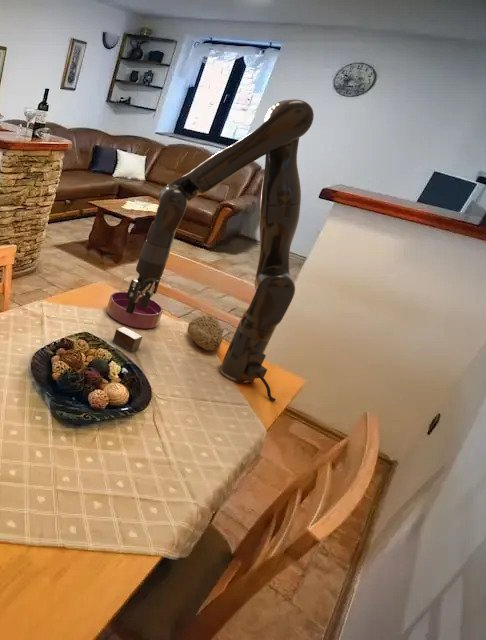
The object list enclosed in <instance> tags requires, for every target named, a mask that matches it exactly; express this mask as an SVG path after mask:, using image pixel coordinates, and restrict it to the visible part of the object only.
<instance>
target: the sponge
mask: <svg viewBox="0 0 486 640" xmlns="http://www.w3.org/2000/svg"><path fill="white" fill-rule="evenodd" d="M224 331H225V327H224V326H223V324H222V323H221V322H220V321H219V320H217V319H216V318H214V316H212V315H208V314H205V315H202V316H197V317H195V318H193V319H192V320H191V321H190V322H189V323H188V326H187V333H188V335H189V337H190V338H191V339H192V341H194V343H196V345H197V346H198V347H200V348H202V349H203V350H206V351H216V350H217V349H219V348H220V347H221V346H222V345H221V344H222V341H223V333H224Z"/></svg>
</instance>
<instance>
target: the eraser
mask: <svg viewBox="0 0 486 640" xmlns="http://www.w3.org/2000/svg"><path fill="white" fill-rule="evenodd" d="M142 339H143V336H142V335H140V334H138V333H137V332H135V331H133V330H132V329H129V328H127V327H125V326H122V327H119V328H116V330H115V332H114V336H113V339H112V343H114V344H115V345H117V346H119V347H121V348H122V349H124V350H126V351H127V352H129V353H132V352H133V353H134V352H135V351H138V350H139V348H140V346H141V343H142Z"/></svg>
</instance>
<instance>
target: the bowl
mask: <svg viewBox="0 0 486 640" xmlns="http://www.w3.org/2000/svg"><path fill="white" fill-rule="evenodd" d="M127 292H128V291H115V292H113V293H111V294H110V296H109V299H108V302H107V307H106V313H107V314H108V315H109V316H110V317H111V318H112V319H113V320H115V321H116V322H117V323H120V324H122V325H124V326H128V327H131V328H134V329H135V328H136V329H152V328H155V327H157V326H158V325H159V323H160V321H161V318H162V315H163V313H164V311H163V310H164V308H163V306H162V305H161V304H159V302H158V301H156V300H154V299H152V298H150V301H149V304H148V307H147V308H143V307H141V306H140V303H141V300H142V297H143V296H142V297H140V298H139V300H138V301H137V304H136V307H135V310H134V313H133V314H129V313H127V312H126V308H127V305H128V302H129V300H127V299H126V295H127ZM136 297H137V296H136Z"/></svg>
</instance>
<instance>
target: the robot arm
mask: <svg viewBox="0 0 486 640" xmlns="http://www.w3.org/2000/svg"><path fill="white" fill-rule="evenodd" d="M313 122H314V110H313V108H312V105H310V104H309V103H308V102H306V101H305V100H303V99H297V98H295V99H293V98H292V99H283V100H281V101H278V102H276V103H275V104H273V105H272V106H271V107H270V108H269V109H268V111H267V113H266V115H265V118H264V122H263V123H262V124H260V125H259V127H257V128H256V129H254V130H253V131H252V132H251V133H249V134H248V135H246V136H245V137H243V138H242V139H240V140H238V141H236V142H235V143H233V144H231V145H230V146H228V147H225V148H224V149H222V150H221V151H218V152H217V153H215V154H214V155H212V156H211V157H209V158H207V159H206V160H205V161H203V162H202V163H200V164H199V165H197V167H195V168H193V169H192V170H191V171H190V172H188V173H186V174H184V175H183V176H180V177H179V178H176V179H175V180H173V181H172V182H170V183H168V184H167V185H166V186H164V187H163V188H162V189H161V191H160V192H159V194H158V196H157V202H158V206H157V210H156V213H155V217H154V220H153V221H152V223H151V224H150V227H149V229H148V232H147V236H146V239H145V241H144V243H143V246H142V249H141V251H140V254H139V257H138V262H137V264H136V267H135V271H136V273H138V277H137V279H132V280H131V281H130V283H129V287H128V289H127V291H126V292H127V295H126V299H127V300H129V302H128V305H127V308H126V312H127V313H129V314H133V313H134V310H135V307H136V304H137V301H138V300H139V298H140V297H142V296H143V297H142V300H141V303H140V306H141V307H143V308H147V307H148V304H149V301H150V299H152V297H153V296H154V295H155V294H157V292H158V289H159V285H160V282H161V279H162V277H163V274H164V271H165V268H166V265H167V262H168V259H169V256H170V253H171V248H172V244H173V242H174V239H175V236H176V232H177V229H178V228H179V225H180V223H181V222H182V219H183V218H184V215H185V213H186V209H187V207H188V202H189V201H192V200H193V199H194V198H196V197H198V196H201V195H203V196H204V195H205V194H207V193H209V192H211V191H213V190H214V189H215V188H216V187H218V186H219V185H221V184H222V183H224V182H226V181H227V180H228V179H230V178H231V177H233V176H234V175H236V174H237V173H239V172H240V171H241V170H243V169H244V168H246V167H247V166H248V165H251V164H253V162H255V161H257V160H258V159H260V158H262V157H264V156H265V158H264V159H265V161H264V170H263V178H262V185H261V195H260V206H259V257H258V264H257V269H256V274H255V278H254V290H255V293H254V295H253V297H252V299H251V302H250V303H249V306H248V308H245V310H244V311H243V313H242V316H241V317H240V320H239V322H238V325H237V327H236V329H235V332H234V333H233V336H232V338H231V341H230V343H229V346H228V348H227V350H226V353H225V354H224V358H223V360H222V361H221V364H220V366H219V368H218V371H219V372H220V374H222V375H223V376H224V377H225V378H227V379H229V380H231V381H233V382H235V383H236V384H253V383H254V382H255V380H256V379H260V380H261V382H262V384H263V385H264V386H265V388H266V394H267V397H268V399H269V400H270V401H272V402H275V401H276V398H274V397H273V396H272V393H271V388H270V385H269V383H268V382H267V381H266V379H265V376H266V374H267V372H268V369H267V368H266V367H265V366H264V365H263V364H264V361H265V359H266V356H267V355H266V354H265V352H266V350H267V347H268V345H269V343H270V340H271V339H272V337H273V335H274V333H275V330H276V328H277V326H278V325H279V324H280V323H281V322H282V321H283V319H284V317H285V315H286V313H287V311H288V309H289V308H290V305H291V303H292V301H293V299H294V296H295V294H296V285H295V282H294V281H293V279H292V277H291V274H290V251H291V246H292V243H293V240H294V238H295V234H296V231H297V228H298V225H299V221H300V214H301V203H302V202H301V201H302V189H301V187H302V186H301V179H300V174H299V168H298V149H299V143H300V138H301V137H303V136H304V135H306V133H307V132H308V131H309V130H310V128H311V127H312V125H313ZM136 296H137V297H136Z"/></svg>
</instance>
